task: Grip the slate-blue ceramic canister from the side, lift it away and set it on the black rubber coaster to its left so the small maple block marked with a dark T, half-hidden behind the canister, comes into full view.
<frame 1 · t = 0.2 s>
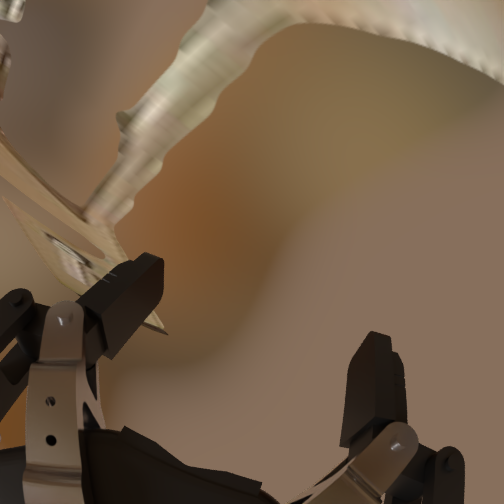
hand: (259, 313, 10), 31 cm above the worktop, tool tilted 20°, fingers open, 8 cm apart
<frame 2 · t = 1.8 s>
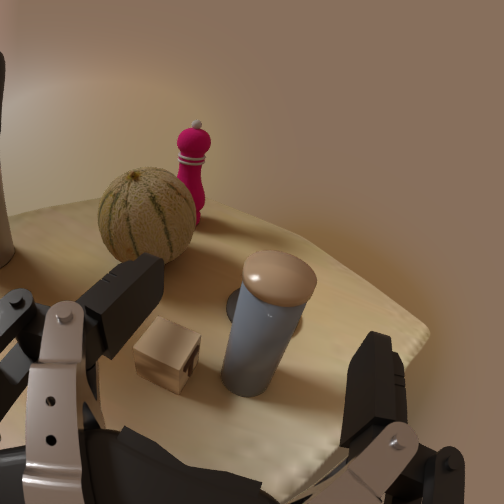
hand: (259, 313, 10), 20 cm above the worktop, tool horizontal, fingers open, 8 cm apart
canister: (245, 376, 30), on the worktop
t block: (168, 368, 29), on the worktop
pepper mill: (183, 220, 57), on the worktop
cantaloupe: (145, 259, 44), on the worktop
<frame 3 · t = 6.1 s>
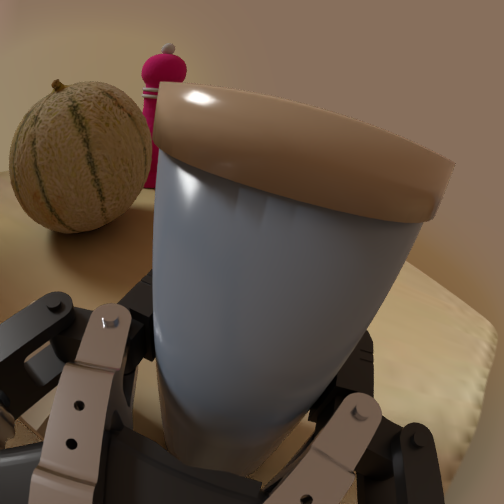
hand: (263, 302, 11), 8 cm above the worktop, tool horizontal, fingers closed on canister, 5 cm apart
canister: (217, 435, 13), on the worktop, touching gripper
t block: (63, 408, 11), on the worktop
pepper mill: (150, 182, 40), on the worktop
cantaloupe: (81, 224, 27), on the worktop
when the fingers open (9 cm above the worktop, at t = 10.5 s): canister stays where it is, resting on coaster.
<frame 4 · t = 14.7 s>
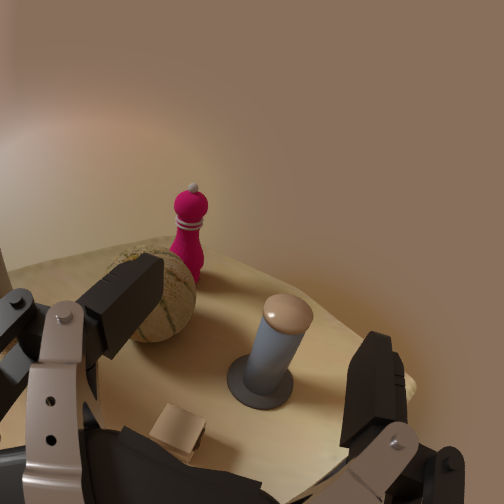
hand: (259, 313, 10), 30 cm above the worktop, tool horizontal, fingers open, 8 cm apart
canister: (260, 380, 40), point 1 cm above the worktop, touching coaster
t block: (178, 440, 30), on the worktop
pepper mill: (183, 277, 58), on the worktop
coaster: (260, 381, 41), on the worktop
cantaloupe: (149, 326, 46), on the worktop
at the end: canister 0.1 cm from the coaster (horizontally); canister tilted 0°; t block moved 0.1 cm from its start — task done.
